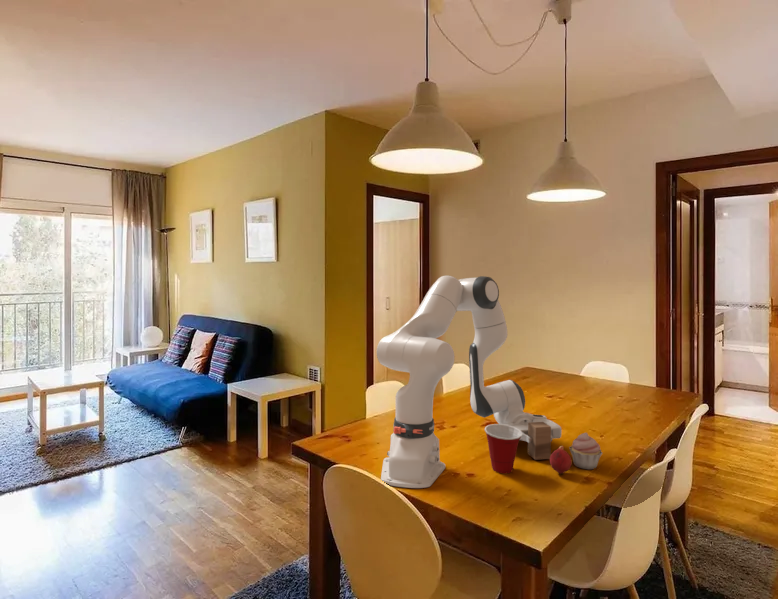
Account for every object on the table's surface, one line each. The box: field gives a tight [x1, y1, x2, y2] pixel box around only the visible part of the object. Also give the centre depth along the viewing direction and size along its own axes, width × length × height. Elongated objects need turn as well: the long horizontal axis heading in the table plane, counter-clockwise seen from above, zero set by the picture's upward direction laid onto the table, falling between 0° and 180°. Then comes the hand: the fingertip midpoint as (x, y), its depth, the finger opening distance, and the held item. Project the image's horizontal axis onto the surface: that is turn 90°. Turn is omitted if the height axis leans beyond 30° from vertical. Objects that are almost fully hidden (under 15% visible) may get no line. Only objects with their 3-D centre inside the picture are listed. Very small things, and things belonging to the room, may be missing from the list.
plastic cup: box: [484, 423, 522, 474], centre depth 137 cm, size 11×11×12 cm
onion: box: [549, 445, 573, 475], centre depth 134 cm, size 6×6×8 cm
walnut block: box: [527, 422, 552, 461], centre depth 146 cm, size 5×5×10 cm
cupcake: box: [568, 432, 603, 470], centre depth 140 cm, size 9×9×10 cm
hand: (540, 439), depth 145 cm, fingers closed on walnut block, 5 cm apart
